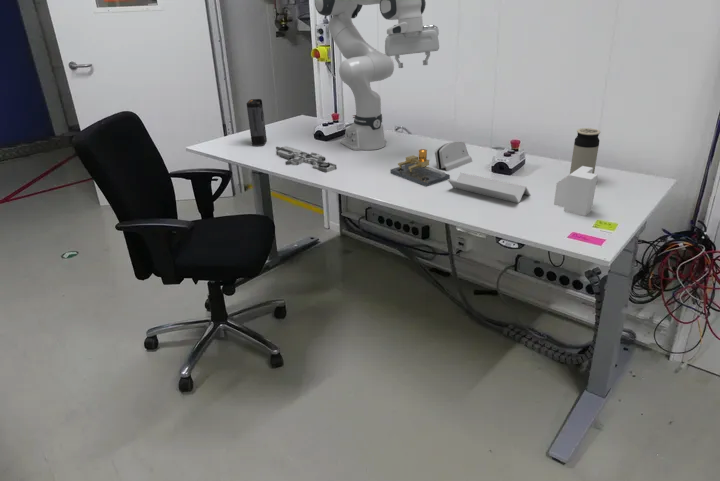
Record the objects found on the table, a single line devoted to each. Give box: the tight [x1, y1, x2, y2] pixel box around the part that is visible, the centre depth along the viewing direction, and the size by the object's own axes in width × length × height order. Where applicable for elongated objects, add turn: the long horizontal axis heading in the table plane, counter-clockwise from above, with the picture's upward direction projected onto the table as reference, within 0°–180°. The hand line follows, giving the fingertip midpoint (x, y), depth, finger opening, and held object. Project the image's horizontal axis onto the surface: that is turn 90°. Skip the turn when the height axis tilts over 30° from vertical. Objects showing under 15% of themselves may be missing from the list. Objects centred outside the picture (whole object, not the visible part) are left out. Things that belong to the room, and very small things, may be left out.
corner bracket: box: [553, 166, 599, 217], centre depth 165 cm, size 11×11×12 cm
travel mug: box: [569, 127, 601, 175], centre depth 184 cm, size 8×8×18 cm
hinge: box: [434, 141, 473, 172], centre depth 208 cm, size 17×5×10 cm, turn 132°
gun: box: [275, 145, 338, 173], centre depth 222 cm, size 41×3×15 cm
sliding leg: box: [408, 148, 430, 173], centre depth 197 cm, size 3×8×8 cm, turn 127°
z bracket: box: [447, 172, 531, 204], centre depth 180 cm, size 12×25×6 cm
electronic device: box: [246, 98, 268, 147], centre depth 243 cm, size 9×6×20 cm, turn 179°
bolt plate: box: [389, 154, 451, 187], centre depth 198 cm, size 20×12×5 cm, turn 37°
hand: (413, 66), depth 197 cm, fingers open, 8 cm apart
